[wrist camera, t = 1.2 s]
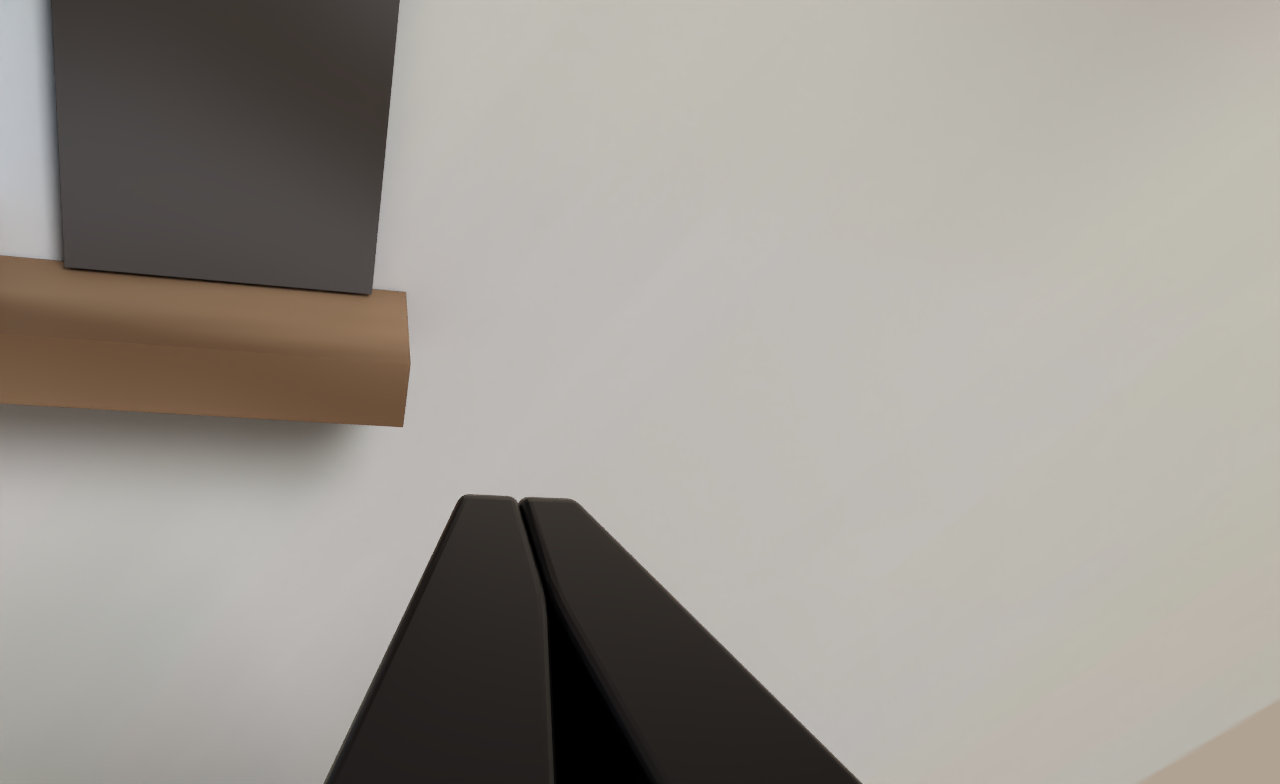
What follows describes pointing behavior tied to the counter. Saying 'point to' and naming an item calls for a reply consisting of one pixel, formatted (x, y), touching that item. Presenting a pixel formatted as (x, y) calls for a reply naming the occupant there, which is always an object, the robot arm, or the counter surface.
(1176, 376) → the counter surface
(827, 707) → the counter surface
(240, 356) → the trap channel
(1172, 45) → the counter surface
